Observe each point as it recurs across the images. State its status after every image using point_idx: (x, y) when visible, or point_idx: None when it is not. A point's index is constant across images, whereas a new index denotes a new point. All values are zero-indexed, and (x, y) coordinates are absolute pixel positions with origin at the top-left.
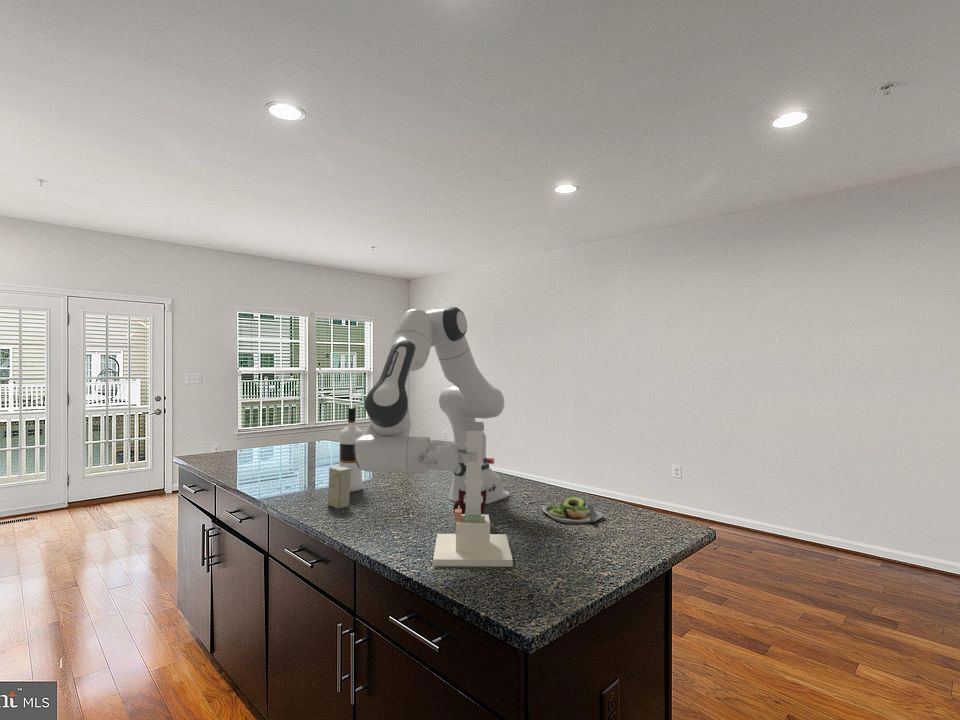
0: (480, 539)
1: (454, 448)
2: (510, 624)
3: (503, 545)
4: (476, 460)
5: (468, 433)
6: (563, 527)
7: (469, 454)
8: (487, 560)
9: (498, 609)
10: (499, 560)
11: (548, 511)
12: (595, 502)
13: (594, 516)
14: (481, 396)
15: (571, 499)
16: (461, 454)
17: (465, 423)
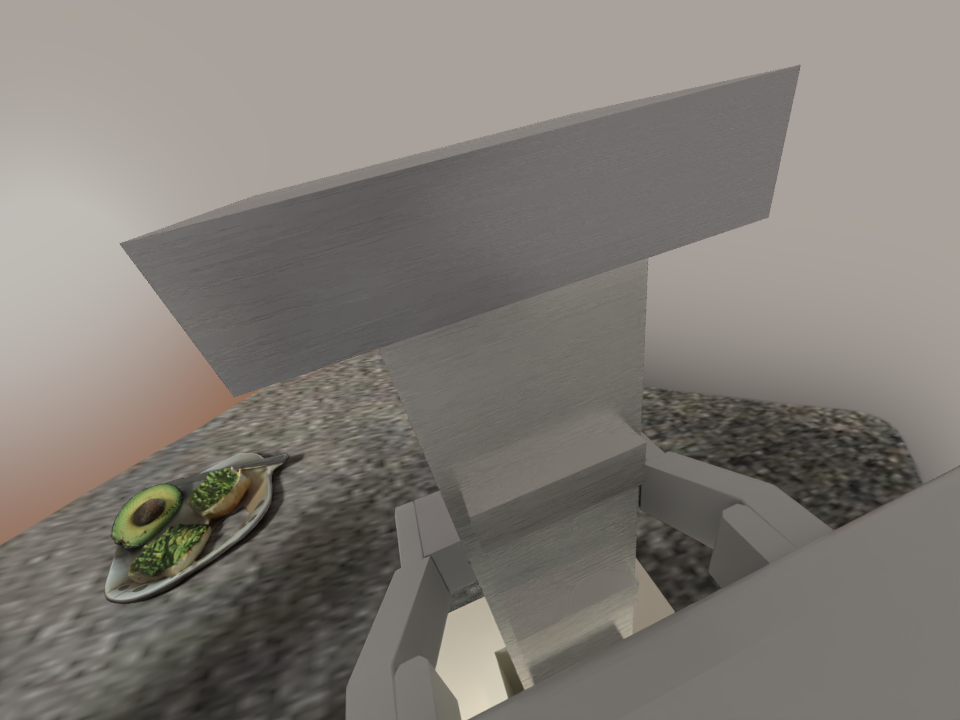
0: None
1: (736, 684)
2: (893, 452)
3: None
4: None
5: (628, 295)
6: (297, 514)
7: (680, 456)
8: (669, 606)
9: (869, 491)
10: (643, 569)
11: (169, 573)
12: (109, 497)
13: (258, 459)
14: None
15: (129, 516)
16: (795, 504)
17: (322, 232)
